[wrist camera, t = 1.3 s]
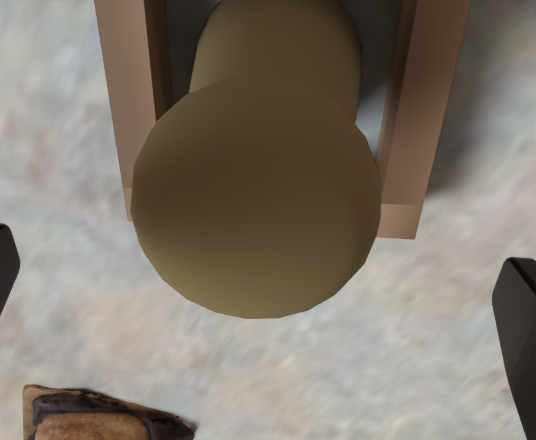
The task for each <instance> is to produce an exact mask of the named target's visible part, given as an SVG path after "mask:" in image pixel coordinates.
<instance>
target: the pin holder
mask: <svg viewBox="0 0 536 440" xmlns="http://www.w3.org/2000/svg"><path fill="white" fill-rule="evenodd" d="M471 1H472V0H402V4H401V10H400V16H399V22H398V28H397V34H396V40H395V46H394V52H393V58H392V64H391V70H390V76H389V82H388V88H387V94H386V100H385V106H384V112H383V118H382V124H381V130H380V136H379V142H378V148H377V154H376V160H375V164H376V167H377V170H378V173H379V177H380V181H381V185H382V192H381V220H380V224H379V228H378V233H377V236H376V237H383V238H399V239H415V236H416V232H417V228H418V223H419V219H420V215H421V211H422V207H423V202H424V198H425V194H426V190H427V186H428V181H429V177H430V173H431V169H432V165H433V160H434V156H435V152H436V148H437V144H438V139H439V135H440V131H441V127H442V123H443V118H444V114H445V110H446V106H447V102H448V97H449V93H450V89H451V85H452V81H453V76H454V72H455V68H456V64H457V60H458V55H459V51H460V47H461V43H462V39H463V34H464V30H465V26H466V22H467V18H468V13H469V9H470V5H471ZM94 3H95V9H96V16H97V22H98V29H99V35H100V42H101V48H102V55H103V61H104V68H105V74H106V81H107V87H108V94H109V101H110V107H111V114H112V120H113V127H114V133H115V140H116V146H117V153H118V159H119V166H120V172H121V179H122V185H123V192H124V198H125V205H126V211H127V218H128V221H133V220H132V217H131V214H130V206H131V194H132V181H133V171H134V163H135V161H136V159H137V157H138V155H139V153H140V151H141V149H142V147H143V145H144V143H145V141H146V139H147V137H148V135H149V133H150V131H151V130H152V128H153V127H154V125H155V124H156V122H157V121H158V119H160V118H161V117H162V116H163V115H164V114H165V113H166V112H167V111H168V110H169V109H171V108H172V107H173V96H172V83H171V71H170V58H169V46H168V33H167V21H166V8H165V0H94Z"/></svg>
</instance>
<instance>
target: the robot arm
mask: <svg viewBox="0 0 536 440" xmlns="http://www.w3.org/2000/svg"><path fill="white" fill-rule="evenodd" d="M19 269H20V258H19V254H18V251H17V248H16V245H15V242H14V238H13V235H12V232H11V230H10V228H9V227H8V226H7V225H5V224H2V223H0V315H1V313H2V311H3V308H4V306H5V304H6V301H7V299H8V297H9V294H10V292H11V289H12V287H13V285H14V282H15V280H16V278H17V275H18V273H19ZM492 306H493V311H494V316H495V321H496V326H497V331H498V336H499V341H500V346H501V351H502V356H503V361H504V366H505V370H506V375H507V379H508V383H509V386H510V389H511V393H512V396H513V399H514V402H515V405H516V408H517V411H518V414H519V417H520V420H521V423H522V426H523V429H524V432H525V435H526V438H527V440H536V261H535V260H534V259H531V258H519V257H510V258H508V259H506V260H505V262H504V264H503V266H502V269H501V271H500V274H499V277H498V279H497V282H496V285H495V287H494V290H493V294H492Z"/></svg>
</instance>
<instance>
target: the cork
mask: <svg viewBox="0 0 536 440" xmlns="http://www.w3.org/2000/svg"><path fill="white" fill-rule="evenodd" d="M361 79H362V44H361V41H360V38H359V35H358V32H357V29H356V25H355V22H354V20H353V19H352V18H351V16H350V15H349V13H348V12H347V11H346V9H345V8H344V7H343V5H342V4H341V3H340V1H339V0H221V1H220V2H219V3H218V4H217V5H216V6H215V7H214V8H213V9H212V10H211V12H210V14H209V16H208V18H207V20H206V22H205V24H204V26H203V28H202V30H201V32H200V36H199V41H198V47H197V52H196V57H195V63H194V68H193V73H192V78H191V84H190V89H189V94H186V95H185V96H184V97H183V98H181V99H180V100H179V101H178V102H177V103H176V104H175V105H174V106H173V107H172V108H171V109H169V110H168V111H167V112H166V113H165V114H164V115H163V116H162V117H161V118H160V119H158V121H157V122H156V124H155V125H154V127H153V128H152V130H151V131H150V133H149V135H148V137H147V139H146V141H145V143H144V145H143V147H142V149H141V151H140V153H139V155H138V157H137V159H136V161H135V163H134V171H133V181H132V194H131V206H130V214H131V217H132V220H133V224H134V227H135V231H136V234H137V237H138V241H139V244H140V246H141V248H142V249H143V251H144V253H145V255H146V257H147V258H148V259H149V261H150V262H151V264H152V265H153V267H154V268H155V269H156V271H157V272H158V274H159V275H160V277H161V278H162V279H163V280H164V281H165V282H166V283H167V284H169V285H170V286H171V287H172V288H174V289H175V290H176V291H177V292H179V293H180V294H181V295H182V296H183V297H185V298H186V299H188V300H190V301H192V302H194V303H196V304H198V305H201V306H203V307H205V308H207V309H209V310H211V311H213V312H216V313H221V314H226V315H230V316H235V317H240V318H245V319H263V318H281V317H285V316H288V315H292V314H296V313H300V312H304V311H307V310H309V309H311V308H313V307H315V306H316V305H318V304H320V303H322V302H323V301H325V300H327V299H329V298H330V297H332V296H334V295H335V294H336V293H337V292H338V291H339V290H340V289H341V288H342V287H343V286H344V285H345V284H346V283H347V282H348V281H349V280H350V279H351V278H352V277H353V275H354V274H355V273H356V272H357V271H358V270H359V269H360V268H361V267H362V266H363V265H364V264H365V261H366V259H367V257H368V254H369V252H370V250H371V247H372V245H373V243H374V240H375V238H376V236H377V233H378V228H379V224H380V220H381V192H382V185H381V181H380V177H379V173H378V170H377V167H376V164H375V161H374V159H373V156H372V153H371V150H370V147H369V145H368V142H367V139H366V137H365V136H364V135H363V133H362V132H361V131H360V130H359V129H358V127H357V126H356V125H355V120H356V113H357V106H358V99H359V93H360V86H361Z"/></svg>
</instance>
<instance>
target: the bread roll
mask: <svg viewBox="0 0 536 440" xmlns="http://www.w3.org/2000/svg"><path fill="white" fill-rule="evenodd" d="M178 418H179V417H178V416H176V417H174V416H172V415H171V414H169V413H166V412H162V411H158V410H154V409H151V408H147V407H143V406H140V405H137V404H133V403H126V402H123V401H119V400H114V399H109V398H102V397H101V395H100V394H99V395H95V394H85V393H84V392H82V391H79V390H75V391H68V390H64V389H55V388H54V389H51V388H47V387H41V386H37V385H25V386H24V388H23V434H24V440H193V433H192V432H191V431H190V430H189V429H188V427H187V426H186V425H184V424H183V423H182V422H181V421H180V420H178Z"/></svg>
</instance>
